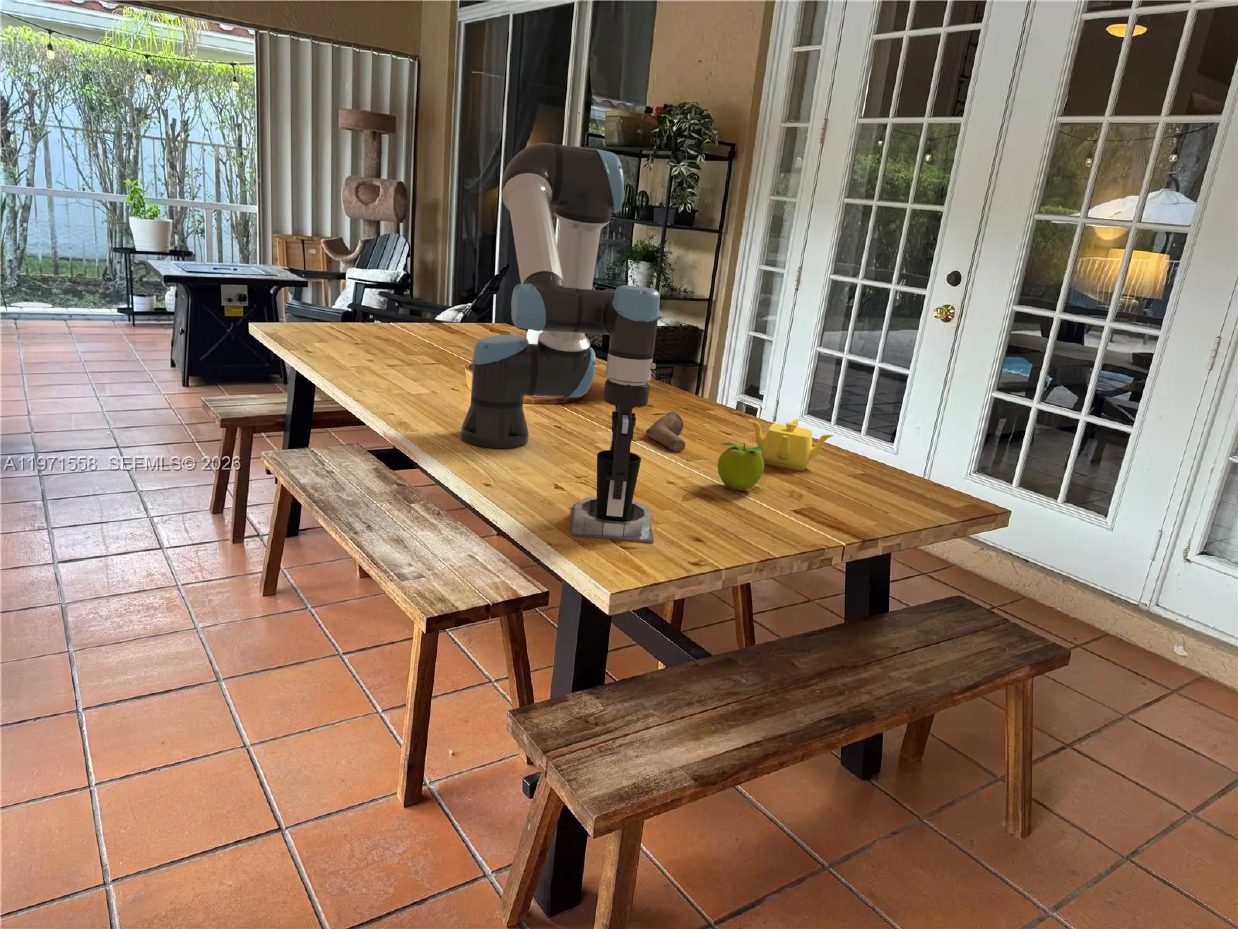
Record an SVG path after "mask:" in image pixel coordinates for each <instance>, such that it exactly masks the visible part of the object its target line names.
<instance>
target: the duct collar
mask: <svg viewBox="0 0 1238 929" xmlns="http://www.w3.org/2000/svg"><path fill="white" fill-rule="evenodd" d="M572 505H573V506H572V519H571V530H570V535H571V536H572V537H583V538H584V537H585V538H594V539H605V540H616V541H628V542H637V543H638V542H639V543H646V544H647V543H648V544H649V543H650V544H654V543H655V542H654V541H655V540H654V534H653V533H654V532H653V528H652V512H651V509H650V508H648V507H646V506H645V505H644V504H642V503H641V502H638V501H634V500H632V505H631V510H630V514H629V519H628V521H627V522H617V521H606V520H602V519H599V518H597V496H591V497H585V498H582V499H580V500H578V501H576V502H575V503H573V504H572Z"/></svg>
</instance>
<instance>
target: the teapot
mask: <svg viewBox="0 0 1238 929" xmlns="http://www.w3.org/2000/svg"><path fill="white" fill-rule="evenodd" d="M748 421H749V423H751V424H752V426H754V432H755V442H756V446H757V447H761V448H762V449H763V450H764V452H761V451H760V454H761V455H762V458H763V460H764V465H767V466H772V467H777V468H782V469H787V470H794V471H798V472H799V471H800V472H805V470H806V469H807V467H808V465H809V463H810V460H812V459H815V458H816V457H818V455H819V454H820V453H821V451H822V448H823V446H824V444H825V442H826V441H827V440H828V439H829V438H831V437H834V436H835V435H834V434H822V435H821V436H820V438H819V439H818V441H817V443H816V444H815V446H814V445H813V430H811V429H808V428H802V427H799V426H798V424H799V420H798V419H794V420H793V421H792V422H786V423H785V424H779V423H772V424H771V426H770V427H769V428H768V429H767V431H766V435H765V437H764V436H763V433H762V426H761V425H760V422H758V421H755V420H753V419H748Z"/></svg>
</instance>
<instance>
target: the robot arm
mask: <svg viewBox="0 0 1238 929" xmlns="http://www.w3.org/2000/svg"><path fill="white" fill-rule="evenodd" d="M623 172H624V171H623V167H622V163H621V161H620V158H619V156H618V155H617V154H615V153H614V152H611V151H607V150H604V149H598V148H592V147H585V146H584V147H583V146H576V145H567V144H566V145H565V144H557V143H550V142H539V143H534V144H531V145H528V146H527V147H525V148H523V149H522V150H520V151H519V152H517V154H516V155H515V156H514V157H512V159H510V161H509V163H508V164H507V166H506V168H505V170H504V172H503V175H502V178H501V189H500V190H501V195H502V196H501V197H502V202H503V204H504V206H505V208H506V209H507V210H508V211H509V213H510V214H509V215H510V221H511V227H512V233H513V234H512V235H513V239H514V247H515V248H514V249H515V253H516V260H517V266H518V273H519V279H520V280H519V281H520V283H518V284H516V285H515V287H514V288H513V290H512V295H511V303H510V305H511V306H510V308H511V322H512V323H513V325H514V326H515V327H516V328H518V329H524V330H533V331H537V332H539V331H542V332H540V333H539V334H538V336H537V343H529V340H528V338H527V337H526V336H523V335H513V334H504V335H503V334H500V335H491V336H487V337H483V338H481V339H479V340H477V342H475V344H474V348H473V356H472V360H471V362H472V377H471V393H470V395H471V396H470V405H469V406H468V409H467V412H466V415H465V417H464V420H463V423H462V425H461V430H460V438H461V440H462V441H464V442H466V443H468V444H471V445H473V446H478V447H483V448H490V449H513V448H515V449H516V448H519V447H523V446H525V445H526V444H528V442H529V429H528V423H527V421H526V415H525V413H524V398H525V396H528V397H545V398H547V397H550V398H563V399H568V398H580V397H583V396H584V395H585V394H587V392H588V391H589V390H590V388H591V385H592V383H593V380H594V378H595V372H596V366H595V365H596V363H597V362H596V352H595V351H594V349H593V347H591V341H590V340H589V339H588V337H586V334H591V335H604V336H605V335H607V336H610V337H609V344H608V345H609V347H608V352H607V359H606V360H607V361H606V368H605V376H606V377H607V379H606V380H605V381H604V383H605V384H604V390H603V392H604V393H603V400H604V402H605V403H606V404H609V405H611V406H614V407H615V409H614V410H612V411H611V412H612V414H611V432H612V435H611V436H612V437H611V443H610V447H609V450H614V457H613V469H612V475H611V476H609V475H608V476H607V480H610V487H609V496H608V505H607V516H618V517H622V516H623V508H624V499H625V491H626V482H627V480H628V467H629V457H630V452H631V445H632V441H633V439H634V429H635V428H634V427H635V426H636V421H637V417H636V413H635V412H633V409H636V408H644V407H645V406H647V404H648V403H649V398H650V397H649V394H650V389H651V388H650V386H651V385H649V383H648V382H649V381H651V376H652V370H654V369H656V368H657V367H656V366H657V365H656V363H654V362H653V359H654V354H655V345H656V338H657V337H656V336H657V331H658V330H657V329H658V322H659V318H660V314H661V313H660V312H661V311H660V302H661V300H660V299H661V295H660V292H658V290H657V289H656V288H655V289H654V288H649V287H645V286H639V285H638V286H637V285H629V284H627V285H626V284H625V285H619V286H617V287H616V289H614V288H607V289H604V290H600V289H593V283H594V278H595V277H594V276H595V271H596V265H597V264H596V263H597V257H598V252H599V244H600V238H601V233H602V229H603V228H604V227H606V226H607V225H608V224H609V223H610V222H611V215H612V214H615V213H618V212H620V210H621V209H622V205H623V202H624V194H625V193H624V190H625V187H624V186H625V181H624V173H623ZM551 206H554V212H553V214H554V216H555V217H556V218H557V220H558V221H559V229H558V238H557V239H556V233H555V228H554V223H553V217H552V214H551V213H552V212H551V208H550V207H551ZM617 472H621V473H617ZM623 473H624V474H623Z"/></svg>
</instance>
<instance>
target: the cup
mask: <svg viewBox="0 0 1238 929" xmlns="http://www.w3.org/2000/svg"><path fill="white" fill-rule="evenodd" d="M613 457H614V450H610V449H605V450H601V451H598V452H597V454H596V497H597V518H599V519H602V520H606V521H617V522H627V521H628V519H629V514H630V510H631V505H632V501H634V497H635V496H634V495H635V491H636V486H637V480H638V476H639V470H640V466H641V462H642V458H641V457H640V455H638V454H636V453H634V452H631V451H630V457H629V467H628V480H627V482H626V491H625V499H624V508H623V516H622V517H618V516H607V505H608V496H609V487H610V480H607V476H608V475H609V476H611V475H612V469H613ZM617 473H621V472H617ZM623 474H624V473H623Z"/></svg>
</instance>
